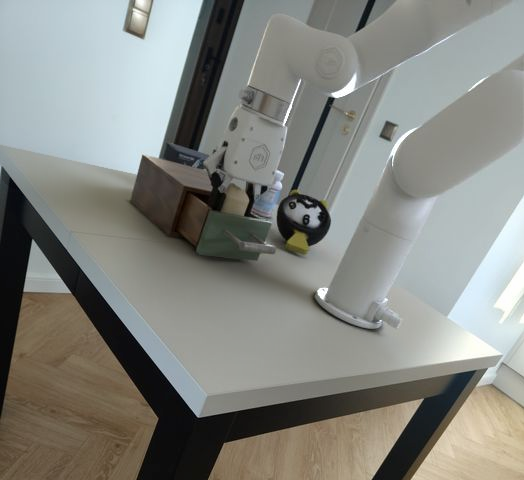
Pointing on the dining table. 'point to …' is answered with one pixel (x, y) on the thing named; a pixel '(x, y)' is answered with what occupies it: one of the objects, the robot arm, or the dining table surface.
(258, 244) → the drawer
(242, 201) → the candle
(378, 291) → the robot arm
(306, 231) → the alarm clock
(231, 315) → the dining table surface
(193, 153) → the box
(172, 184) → the cabinet
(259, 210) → the pill bottle
